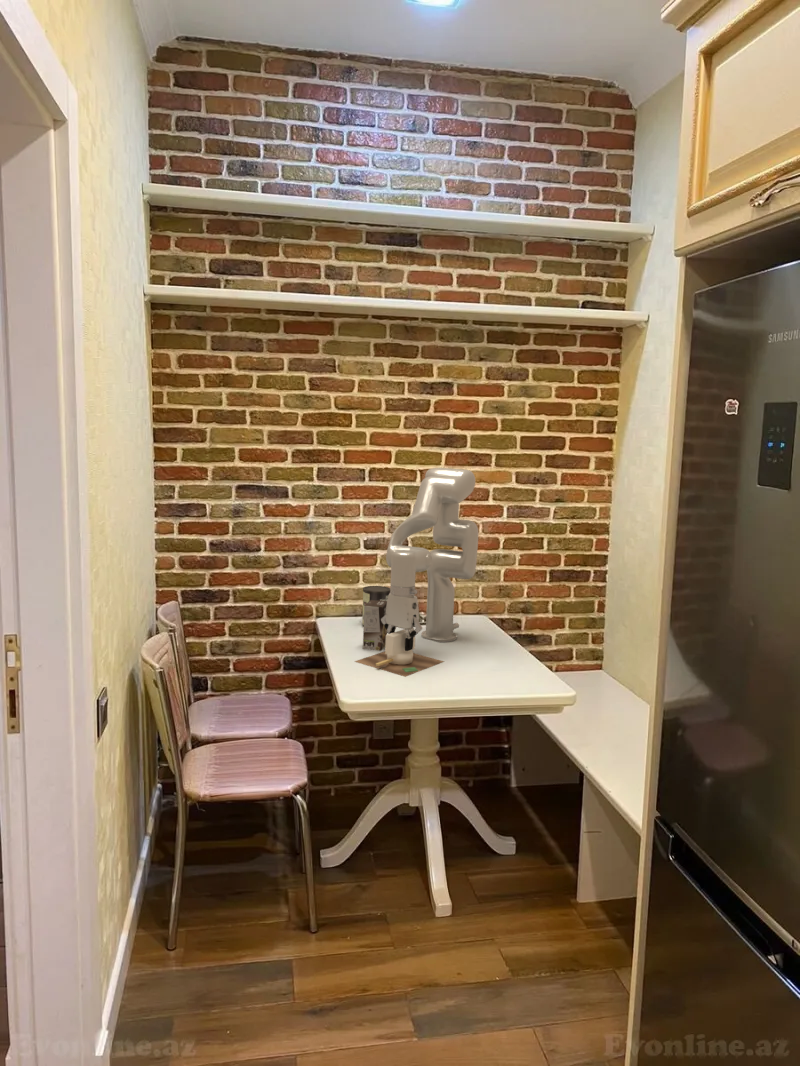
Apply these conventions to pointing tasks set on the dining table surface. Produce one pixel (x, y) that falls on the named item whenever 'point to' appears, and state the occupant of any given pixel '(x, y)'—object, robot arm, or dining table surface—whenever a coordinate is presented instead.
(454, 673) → the dining table surface
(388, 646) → the dial knob
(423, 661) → the dial board
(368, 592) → the coffee can
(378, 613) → the coffee box
